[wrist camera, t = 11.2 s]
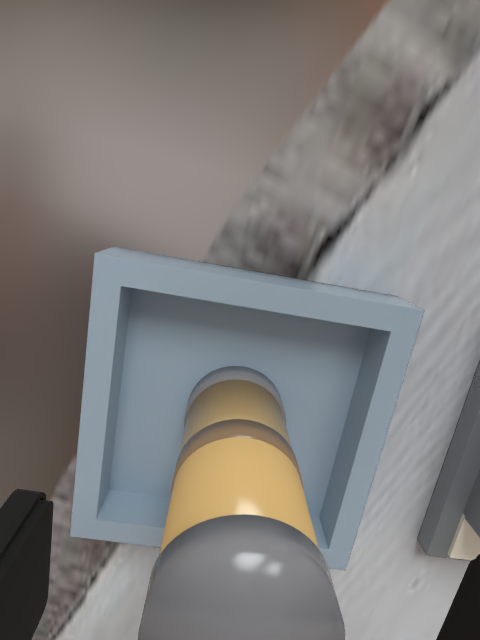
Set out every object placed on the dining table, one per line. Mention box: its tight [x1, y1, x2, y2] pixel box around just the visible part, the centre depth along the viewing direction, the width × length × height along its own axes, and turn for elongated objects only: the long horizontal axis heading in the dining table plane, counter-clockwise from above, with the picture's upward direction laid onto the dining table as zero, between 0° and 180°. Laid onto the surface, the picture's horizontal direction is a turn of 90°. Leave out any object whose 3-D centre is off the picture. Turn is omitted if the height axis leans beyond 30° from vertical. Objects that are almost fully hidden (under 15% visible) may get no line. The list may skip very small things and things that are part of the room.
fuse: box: [138, 366, 345, 640], centre depth 13 cm, size 4×4×10 cm
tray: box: [70, 247, 424, 570], centre depth 17 cm, size 12×12×2 cm
